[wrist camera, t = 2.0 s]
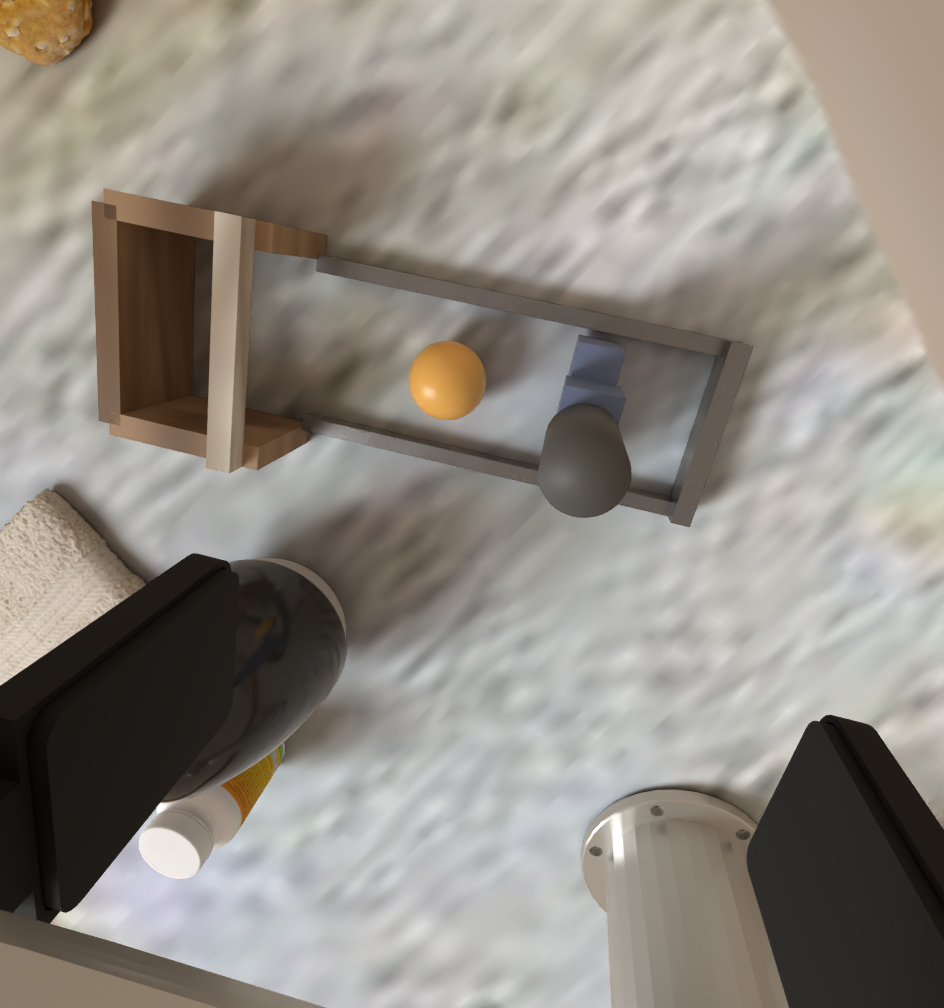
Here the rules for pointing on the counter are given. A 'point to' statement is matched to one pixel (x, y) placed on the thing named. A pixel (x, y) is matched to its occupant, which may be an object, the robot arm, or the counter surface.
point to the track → (727, 352)
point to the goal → (183, 328)
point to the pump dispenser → (272, 668)
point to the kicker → (587, 435)
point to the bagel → (44, 27)
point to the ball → (447, 380)
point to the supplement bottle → (204, 821)
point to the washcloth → (53, 580)
